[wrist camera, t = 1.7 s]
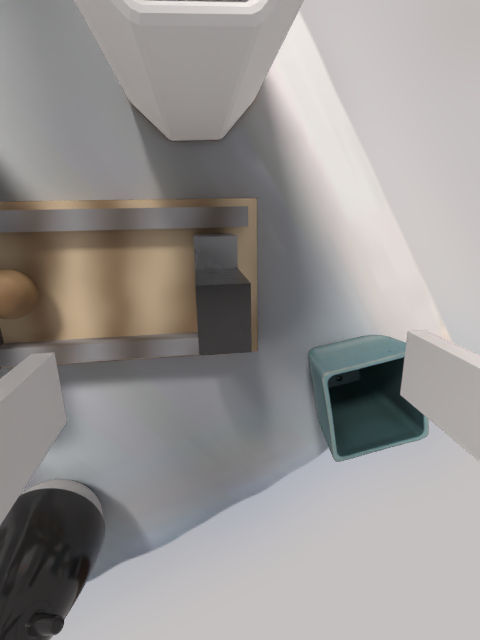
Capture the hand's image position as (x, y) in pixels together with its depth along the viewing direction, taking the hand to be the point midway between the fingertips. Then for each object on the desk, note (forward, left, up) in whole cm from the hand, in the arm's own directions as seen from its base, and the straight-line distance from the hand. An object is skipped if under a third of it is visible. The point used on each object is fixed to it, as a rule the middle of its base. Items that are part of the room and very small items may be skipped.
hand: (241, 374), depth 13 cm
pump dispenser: (+24, -17, -21) cm, 36 cm away
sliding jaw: (0, 0, -19) cm, 19 cm away
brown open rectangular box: (0, -9, -21) cm, 23 cm away
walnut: (0, -16, -17) cm, 24 cm away
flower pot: (+10, +13, -21) cm, 27 cm away
